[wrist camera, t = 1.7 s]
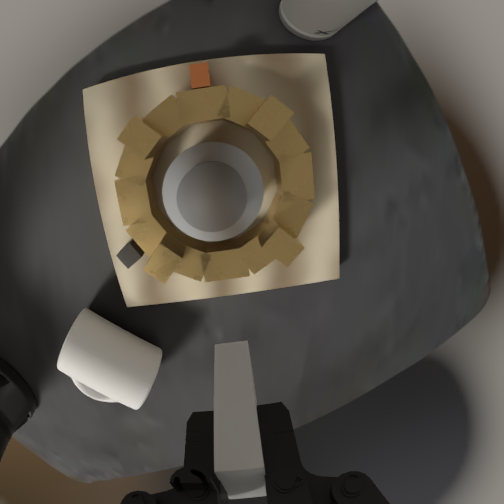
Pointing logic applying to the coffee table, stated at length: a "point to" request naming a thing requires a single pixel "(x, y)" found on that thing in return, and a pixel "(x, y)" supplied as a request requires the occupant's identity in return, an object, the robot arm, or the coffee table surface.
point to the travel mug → (319, 16)
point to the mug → (109, 361)
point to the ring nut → (226, 251)
